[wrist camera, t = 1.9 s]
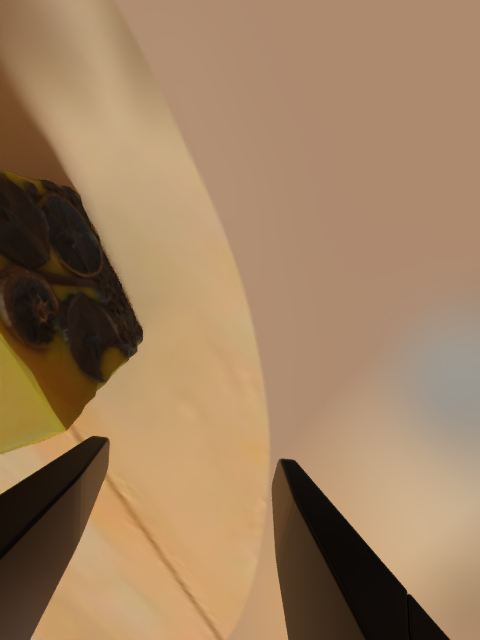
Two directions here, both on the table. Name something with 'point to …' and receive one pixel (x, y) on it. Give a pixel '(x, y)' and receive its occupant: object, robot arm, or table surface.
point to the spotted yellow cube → (54, 312)
